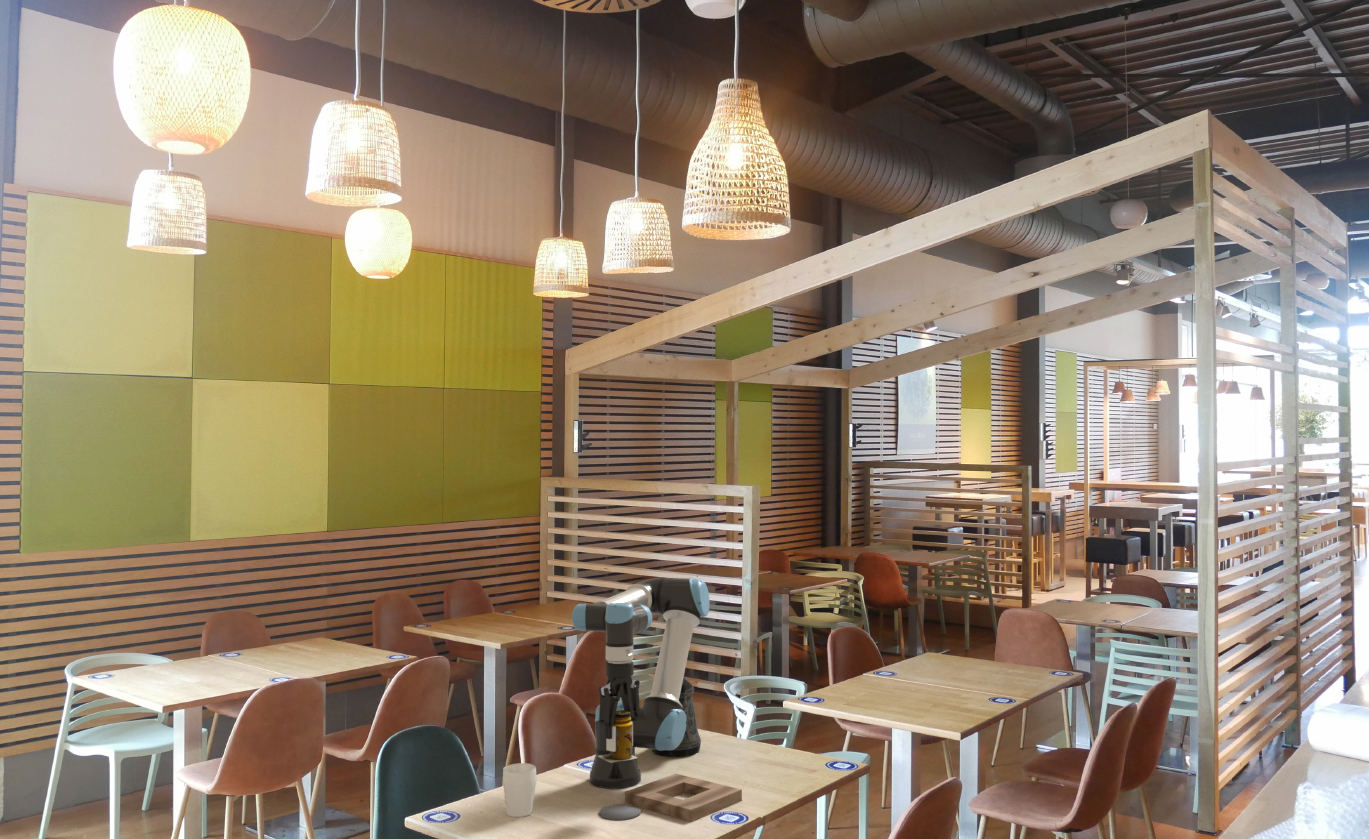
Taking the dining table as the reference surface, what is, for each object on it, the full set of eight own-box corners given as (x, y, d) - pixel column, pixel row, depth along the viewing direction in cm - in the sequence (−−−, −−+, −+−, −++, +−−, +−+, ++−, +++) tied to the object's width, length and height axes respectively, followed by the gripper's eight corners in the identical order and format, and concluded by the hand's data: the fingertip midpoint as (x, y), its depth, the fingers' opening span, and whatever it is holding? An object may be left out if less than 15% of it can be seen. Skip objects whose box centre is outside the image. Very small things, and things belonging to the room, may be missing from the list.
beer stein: (680, 741, 347) (679, 666, 348) (717, 753, 332) (716, 675, 333) (640, 749, 337) (640, 672, 338) (676, 762, 321) (676, 682, 323)
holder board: (624, 802, 283) (624, 791, 283) (676, 783, 299) (676, 773, 300) (691, 821, 267) (691, 809, 267) (741, 800, 284) (741, 789, 284)
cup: (521, 805, 281) (521, 761, 281) (543, 812, 275) (543, 766, 276) (495, 814, 274) (495, 768, 275) (518, 821, 268) (518, 774, 269)
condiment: (638, 758, 273) (638, 712, 274) (611, 763, 269) (611, 717, 269) (624, 752, 279) (624, 707, 280) (597, 757, 275) (597, 711, 275)
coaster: (590, 814, 273) (590, 811, 273) (619, 803, 282) (619, 801, 282) (620, 822, 266) (620, 820, 266) (649, 812, 275) (649, 809, 275)
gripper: (604, 667, 266) (604, 757, 265) (653, 657, 281) (653, 742, 280) (584, 664, 271) (584, 752, 270) (633, 654, 286) (633, 738, 285)
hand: (619, 747), depth 275 cm, fingers closed on condiment, 6 cm apart
